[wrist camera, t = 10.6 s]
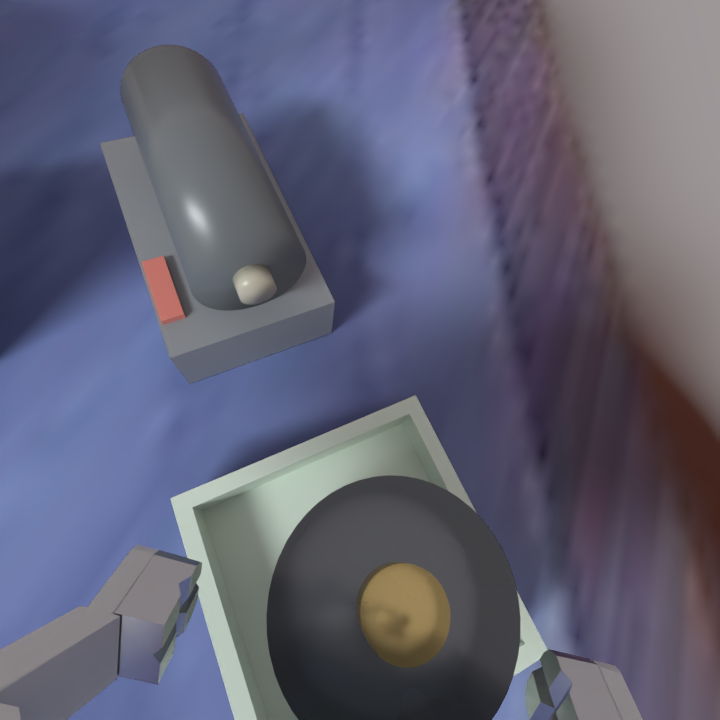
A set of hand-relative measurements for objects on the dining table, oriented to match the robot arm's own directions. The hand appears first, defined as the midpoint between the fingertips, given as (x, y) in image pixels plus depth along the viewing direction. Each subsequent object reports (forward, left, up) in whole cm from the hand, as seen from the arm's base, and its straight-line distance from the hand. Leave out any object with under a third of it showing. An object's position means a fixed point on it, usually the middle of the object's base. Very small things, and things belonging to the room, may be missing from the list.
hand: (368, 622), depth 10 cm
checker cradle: (-16, +1, -8) cm, 18 cm away
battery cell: (-1, 0, -7) cm, 7 cm away
